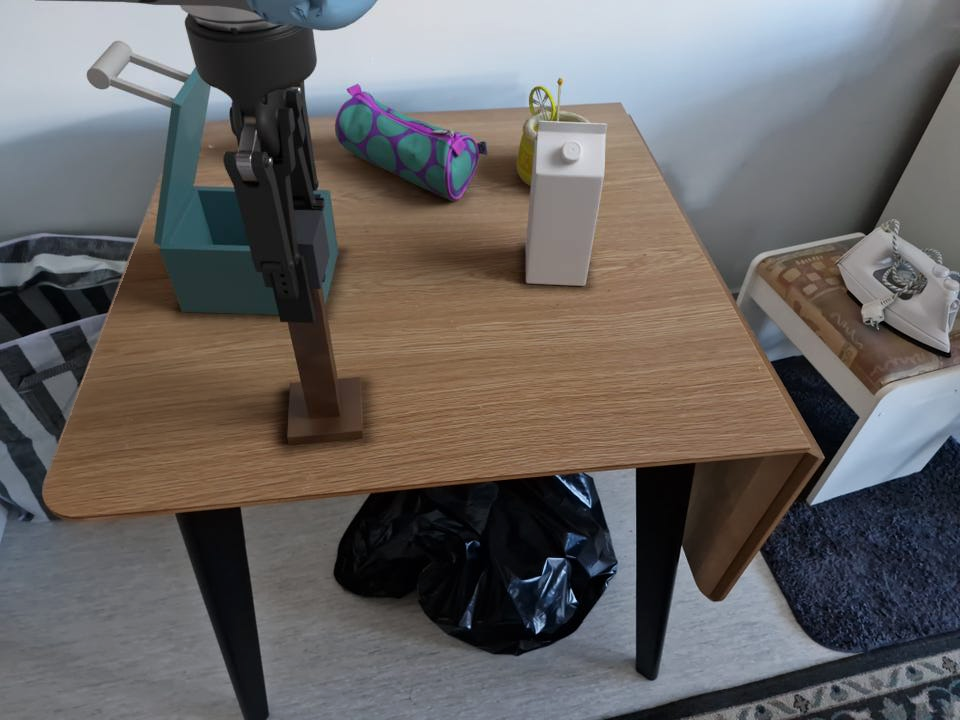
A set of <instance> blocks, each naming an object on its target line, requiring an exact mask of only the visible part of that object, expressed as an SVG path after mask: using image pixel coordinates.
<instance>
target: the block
mask: <svg viewBox="0 0 960 720" xmlns="http://www.w3.org/2000/svg"><path fill="white" fill-rule="evenodd" d="M294 216H295V225H296V233H297V242H298V250H299V253H304V258H305V263H306V269H307V274H308V279H309V285H310V289H321V287H322V283H323V279H324V275H325V271H326V267H327V264H328V260H329V256H330V253H329V247H328V240H327V234H326V227H325V221H324V214H323V211H316V210H294ZM262 275H263V279H264V283H265V287H270V288H272V283H271V279H270V275H269V272H262Z"/></svg>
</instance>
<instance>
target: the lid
mask: <svg viewBox="0 0 960 720" xmlns="http://www.w3.org/2000/svg"><path fill="white" fill-rule="evenodd" d="M129 63H131V64H133V65H136V66H139V67H142V68H144V69H147V70H149V71H152V72H155V73H158V74H160V75H163V76H166V77H168V78H170V79H173V80H176V81H179V82H181V83H183V85H182V86H181V88H180V90H179V91H178V93H177V94H176V95H175V96H174V97H171V96H168V95H166V94H163V93H160V92H158V91H155V90H153V89H150V88H147V87H144V86H142V85H140V84H136V83H133V82H131V81H128V80H125V79H123V78H120V77H118V76H119V75H120V74H121V73H122V72H123V70H124V69H125V68H126V67H127V65H129ZM86 79H87V81H88V82H89V84H90V85H91V86H92V87H94V88H95V89H98V90H106V89H108V88H110V87H112V88H115V89H118V90H121V91H124V92H126V93H128V94H132V95H134V96H137V97H139V98H142V99H145V100H147V101H151V102H153V103H156V104H159V105H161V106H164V107H167V108H169V109H170V114H169V121H168V129H167V137H166V145H165V153H164V160H163V167H162V169H163V170H162V175H161V184H160V191H159V198H158V206H157V212H156V213H157V215H156V222H155V229H154V238H153V244H155V245H158V246H160V245H162V243H163V242H164V240H165V238H166V236H167V234H168V232H169V230H170V228H171V227H172V225H173V223H174V221H175V219H176V217H177V215H178V213H179V211H180V210H181V208H182V206H183V204H184V202H185V200H186V198H187V196H188V195H189V193H190V191H191V189H192V187H193V186H195V183H196V178H197V170H198V164H199V160H200V159H199V158H200V153H201V146H202V141H203V135H204V129H205V125H206V124H205V123H206V119H207V118H206V117H207V111H208V105H209V99H210V93H211V88H212V86H210V85H209V84H207V83H206V82H205V81H203V80H202V78H201V77H200V76H199V74H198V72H197V69H196V66H195V67H194V68H193V69H192V72H190V73H187V72H184V71H182V70H179V69H176V68H174V67H171V66H169V65H166V64H164V63H161V62H158V61H156V60H153V59H150V58H148V57H146V56H142V55H140V54H138V53H135V52H133V50H132V48H131V46H130V45H129V44H128V43H126V42H124V41H122V40H115V41H113V42H112V43H111V44H110V45H109V46H108V47H107V49H105V51H104V52H103V53H102V54H101V55H100V56H99V57H98V58H97V59H96V61H94V63H93V64H92V65H91V66H90V68H89V69H88V70H87V71H86Z"/></svg>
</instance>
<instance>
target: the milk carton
mask: <svg viewBox="0 0 960 720" xmlns="http://www.w3.org/2000/svg"><path fill="white" fill-rule="evenodd" d="M607 129H608V124H607V123H601V122H590V123H582V122H559V121H539V122H538V131H537V134H536V138H535V146H534V157H533V169H532V180H531V186H530V193H529V205H528V215H527V226H526V237H525V283H526V284H533V285H534V284H536V285H554V286H555V285H557V286H558V285H559V286H578V287H579V286H581V287H583V286H584V287H585V286H586V284H587V279H588V273H589V268H590V261H591V255H592V251H593V242H594V237H595V231H596V226H597V220H598V214H599V209H600V208H599V207H600V203H601V197H602V191H603V186H604V185H603V184H604V178H605V162H606V141H607V140H606V137H607Z"/></svg>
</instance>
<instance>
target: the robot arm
mask: <svg viewBox="0 0 960 720" xmlns="http://www.w3.org/2000/svg"><path fill="white" fill-rule="evenodd" d="M37 1H38V2H39V1H41V2H42V1H43V2H44V1H46V2H47V1H48V2H93V3H95V2H99V3H100V2H101V3H102V2H103V3H131V4H144V5H151V6H179V7H180V9H181V10H182V11H183V12H185V13H187V15H186V17H185V19H184V27H185V31H186V35H187V39H188V42H189V47H190V50H191V55H192V58H193V61H194V66H195V67H196V69H197V72H198V74H199V76H200V77H201V78H202V80H203V81H205V82H206V83H207V84H209V85H210V86H211V88H215V89H217V90H219V91H221V92H223V93H224V94H225V95H227V96H228V97H229V99H230V100H231V106H230V108H229V120H230V121H229V123H230V128H231V133H232V134H233V135H234V136H235V138H236V144H237V150H225V151H224V153H223V159H222V161H223V162H222V163H223V165H224V169H225V171H226V173H227V175H228V177H229V180H230V181H231V183H232V185H233V187H234V189H235V193H236V197H237V201H238V205H239V209H240V212H241V216H242V220H243V224H244V228H245V232H246V236H247V239H248V243H249V247H250V251H251V255H252V261H253V263H254V267H255V270H256V272H269V275H270V279H271V283H272V288H273V292H274V296H275V300H276V305H277V309H278V313H279V315H278V318H279V321H280V323H287V322H300V323H314V321H315V311H314V306H313V301H312V295H311V290H310V285H309V279H308V274H307V269H306V263H305V258H304V253H299V250H298V242H297V233H296V225H295V216H294V210H316V211H323V210H324V198H321V197H314V193H313V191H317V190H318V188H319V184H320V182H319V180H318V174H317V167H316V161H315V160H316V159H315V154H314V148H313V140H312V135H311V128H310V119H309V115H308V113H309V112H308V108H307V107H308V106H307V100H306V89H305V87H306V85H305V80H307V79H309V77H310V76H311V75H312V74H313V73H314V71H315V69H316V67H317V62H318V58H317V57H318V56H317V49H316V44H315V43H316V41H315V35H314V31H321V32H322V31H323V32H325V31H336V30H340V29H343V28H346V27H348V26H350V25H352V24H354V23H356V22H357V21H359V20H360V19H361V18H362V17H364V16H365V15H366V14H367V13H369V11H370V10H372V8H373V7H374V6H375V5H376V3H378V1H379V0H36V2H37ZM325 278H326V275H324V279H323V282H325Z"/></svg>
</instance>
